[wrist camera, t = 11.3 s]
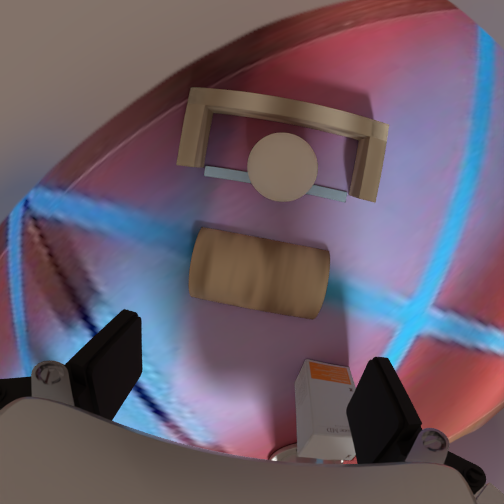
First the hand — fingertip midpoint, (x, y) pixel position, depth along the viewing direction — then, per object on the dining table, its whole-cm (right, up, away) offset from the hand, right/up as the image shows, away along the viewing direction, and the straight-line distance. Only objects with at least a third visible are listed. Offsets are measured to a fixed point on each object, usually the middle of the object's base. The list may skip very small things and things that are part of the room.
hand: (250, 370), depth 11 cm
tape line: (+2, +11, +17) cm, 20 cm away
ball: (+3, +12, +13) cm, 18 cm away
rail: (+3, +14, +16) cm, 22 cm away
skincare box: (+9, -10, +22) cm, 26 cm away
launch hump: (+1, +4, +24) cm, 24 cm away
